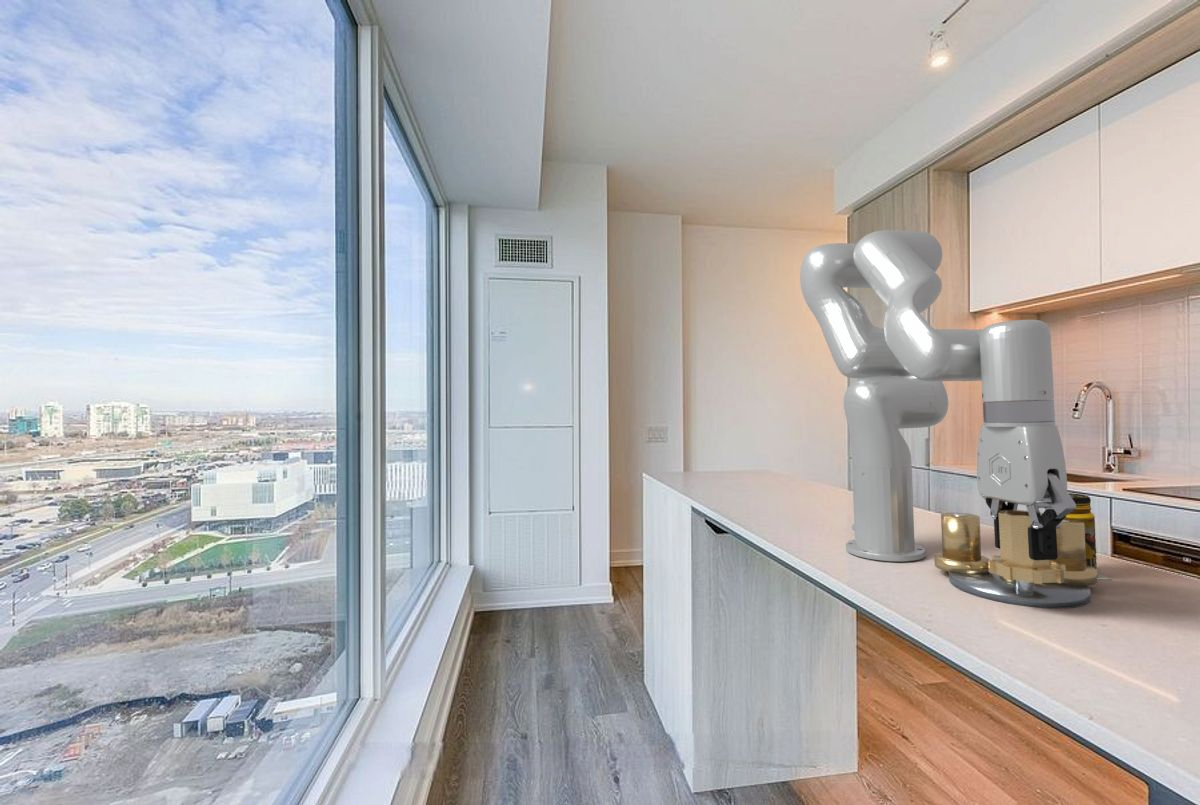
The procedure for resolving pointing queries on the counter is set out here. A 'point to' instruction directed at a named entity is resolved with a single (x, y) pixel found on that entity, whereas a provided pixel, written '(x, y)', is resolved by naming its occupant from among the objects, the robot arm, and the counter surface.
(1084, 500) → the condiment
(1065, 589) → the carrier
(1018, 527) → the gold hollow octagonal piece
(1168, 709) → the counter surface
